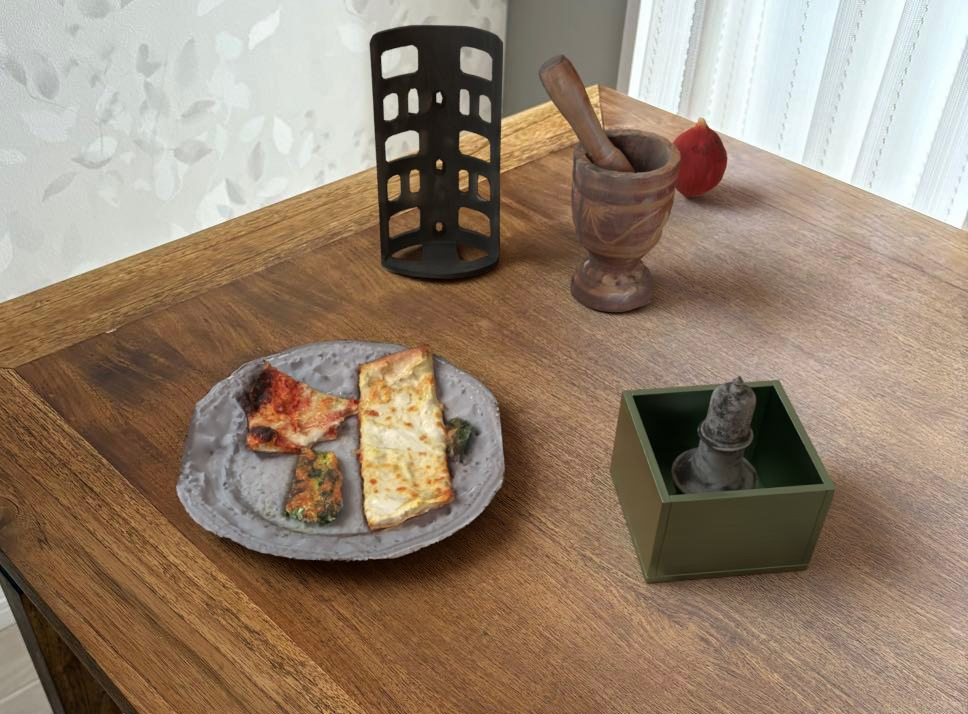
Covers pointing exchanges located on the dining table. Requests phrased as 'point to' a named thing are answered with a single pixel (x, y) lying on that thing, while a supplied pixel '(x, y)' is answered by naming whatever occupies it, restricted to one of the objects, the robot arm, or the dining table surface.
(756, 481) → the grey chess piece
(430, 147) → the holder
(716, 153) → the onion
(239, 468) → the food plate
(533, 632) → the dining table surface
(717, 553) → the box
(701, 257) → the dining table surface
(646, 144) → the mortar and pestle
